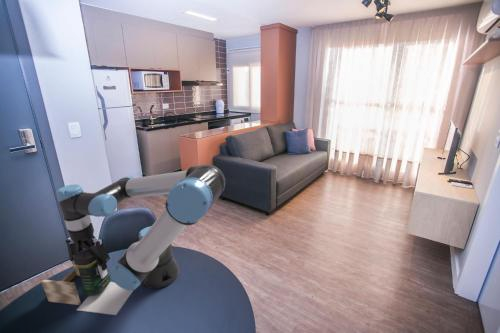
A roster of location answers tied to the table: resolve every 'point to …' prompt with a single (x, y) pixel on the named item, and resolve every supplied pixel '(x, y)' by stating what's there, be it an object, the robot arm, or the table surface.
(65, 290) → the shelf bay
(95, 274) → the coffee jar
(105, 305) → the mat
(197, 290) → the table surface
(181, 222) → the robot arm
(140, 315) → the table surface
